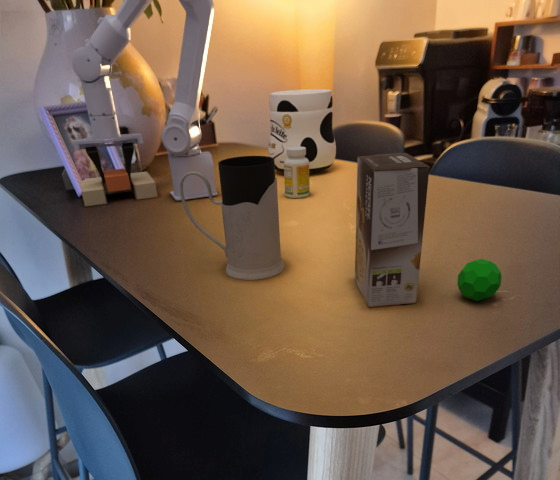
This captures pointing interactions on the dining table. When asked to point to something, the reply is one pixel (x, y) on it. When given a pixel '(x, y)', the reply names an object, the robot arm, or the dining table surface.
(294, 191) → the supplement bottle
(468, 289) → the polyhedron
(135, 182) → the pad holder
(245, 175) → the glass holder
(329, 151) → the milk container
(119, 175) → the terracotta block
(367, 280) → the coffee box
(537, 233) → the dining table surface
